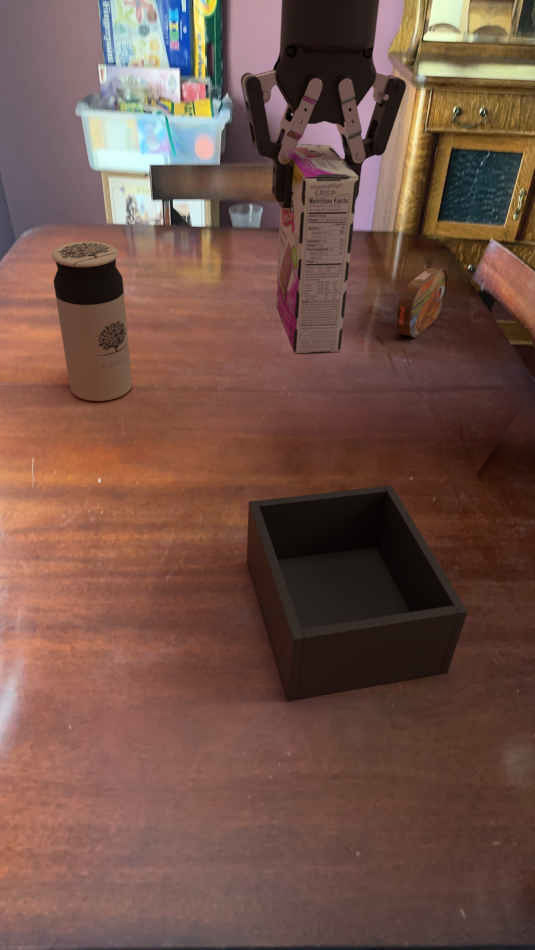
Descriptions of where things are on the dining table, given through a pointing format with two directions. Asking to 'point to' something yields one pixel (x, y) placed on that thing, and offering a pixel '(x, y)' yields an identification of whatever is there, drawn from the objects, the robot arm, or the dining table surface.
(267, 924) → the dining table surface
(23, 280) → the dining table surface
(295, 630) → the basket
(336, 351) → the candy bar box
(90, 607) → the dining table surface
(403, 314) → the tin
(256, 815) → the dining table surface
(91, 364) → the travel mug
